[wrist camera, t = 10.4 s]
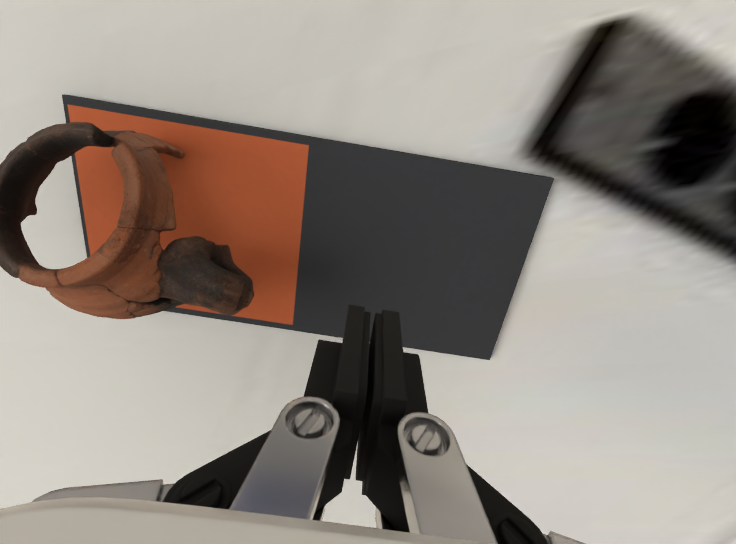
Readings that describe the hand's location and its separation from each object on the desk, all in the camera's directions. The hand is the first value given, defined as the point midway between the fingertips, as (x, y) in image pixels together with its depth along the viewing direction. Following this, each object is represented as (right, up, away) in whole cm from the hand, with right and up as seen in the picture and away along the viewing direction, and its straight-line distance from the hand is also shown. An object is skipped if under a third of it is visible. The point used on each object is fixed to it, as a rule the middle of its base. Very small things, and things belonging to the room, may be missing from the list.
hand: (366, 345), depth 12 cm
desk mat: (-4, +4, +10) cm, 11 cm away
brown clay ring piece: (-11, +5, +9) cm, 15 cm away
